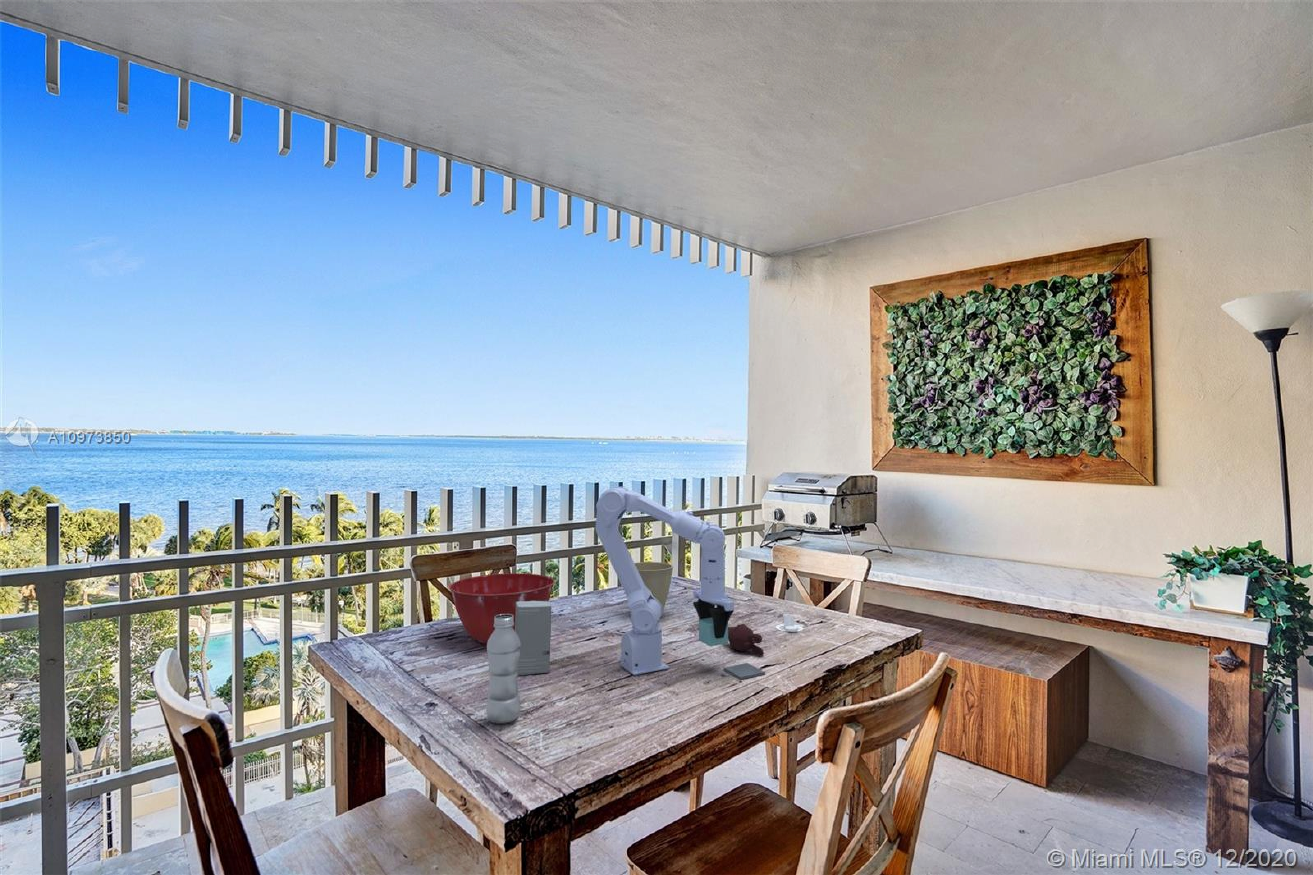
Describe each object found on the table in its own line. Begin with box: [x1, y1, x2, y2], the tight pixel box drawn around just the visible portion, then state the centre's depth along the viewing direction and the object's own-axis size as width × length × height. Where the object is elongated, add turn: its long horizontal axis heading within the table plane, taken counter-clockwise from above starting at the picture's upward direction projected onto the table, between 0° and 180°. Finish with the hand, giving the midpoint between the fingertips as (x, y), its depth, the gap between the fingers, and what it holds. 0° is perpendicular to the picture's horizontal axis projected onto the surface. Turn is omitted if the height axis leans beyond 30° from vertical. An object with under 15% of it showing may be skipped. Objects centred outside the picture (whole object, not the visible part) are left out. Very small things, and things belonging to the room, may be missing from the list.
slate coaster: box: [722, 662, 766, 681], centre depth 143 cm, size 7×7×1 cm
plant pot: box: [634, 561, 674, 613], centre depth 191 cm, size 15×15×16 cm
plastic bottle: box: [485, 614, 521, 725], centre depth 118 cm, size 6×7×20 cm
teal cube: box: [698, 618, 729, 647], centre depth 145 cm, size 5×5×5 cm
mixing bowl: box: [448, 572, 556, 645], centre depth 169 cm, size 28×28×16 cm
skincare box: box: [515, 600, 552, 677], centre depth 145 cm, size 8×7×16 cm
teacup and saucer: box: [775, 613, 804, 633], centre depth 179 cm, size 9×8×4 cm
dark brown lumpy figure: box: [728, 623, 765, 657], centre depth 160 cm, size 7×8×15 cm
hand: (713, 634), depth 145 cm, fingers closed on teal cube, 5 cm apart
